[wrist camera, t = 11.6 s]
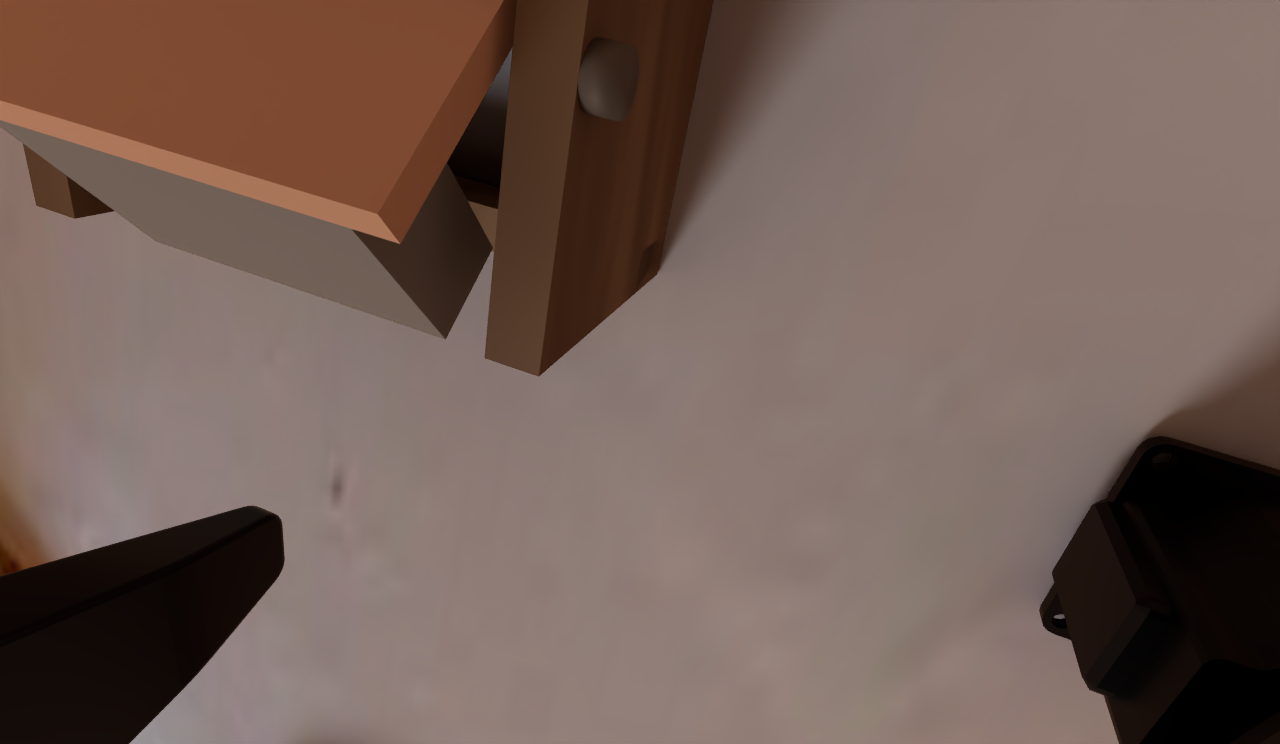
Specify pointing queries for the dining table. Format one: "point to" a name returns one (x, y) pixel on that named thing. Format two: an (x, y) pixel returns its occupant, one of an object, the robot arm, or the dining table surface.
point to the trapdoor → (272, 133)
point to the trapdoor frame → (562, 167)
